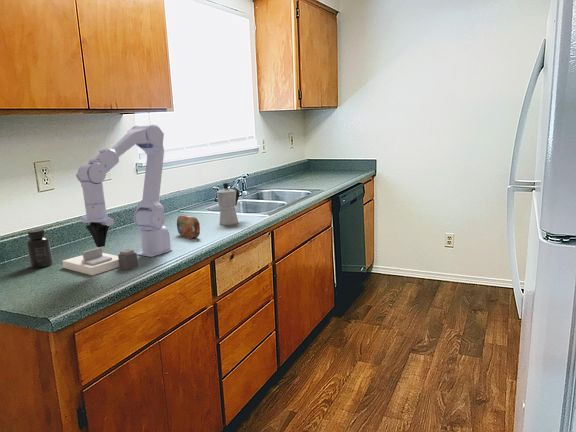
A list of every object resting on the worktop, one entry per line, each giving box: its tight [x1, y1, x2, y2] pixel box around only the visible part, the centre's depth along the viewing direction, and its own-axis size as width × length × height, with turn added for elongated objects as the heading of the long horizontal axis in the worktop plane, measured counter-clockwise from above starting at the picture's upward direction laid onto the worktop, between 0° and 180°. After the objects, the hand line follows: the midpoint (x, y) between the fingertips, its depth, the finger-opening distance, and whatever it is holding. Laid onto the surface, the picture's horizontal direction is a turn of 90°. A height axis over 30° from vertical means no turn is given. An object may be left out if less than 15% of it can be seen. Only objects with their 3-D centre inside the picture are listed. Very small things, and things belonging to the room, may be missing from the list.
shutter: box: [81, 247, 112, 265], centre depth 147 cm, size 7×7×3 cm
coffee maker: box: [215, 182, 240, 227], centre depth 204 cm, size 15×9×18 cm, turn 148°
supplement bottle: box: [25, 228, 54, 269], centre depth 154 cm, size 7×7×12 cm
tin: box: [176, 215, 201, 240], centre depth 184 cm, size 15×3×8 cm, turn 40°
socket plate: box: [62, 252, 120, 276], centre depth 150 cm, size 12×17×3 cm
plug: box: [117, 248, 139, 271], centre depth 147 cm, size 4×4×6 cm
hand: (100, 246), depth 144 cm, fingers closed
